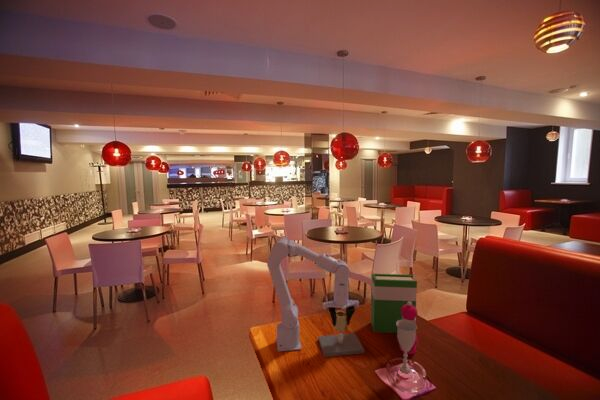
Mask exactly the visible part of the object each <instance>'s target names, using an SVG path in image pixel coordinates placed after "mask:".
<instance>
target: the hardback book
mask: <svg viewBox="0 0 600 400" xmlns="http://www.w3.org/2000/svg"><path fill="white" fill-rule="evenodd" d="M417 289H418V280H416V279H415V280H414V279H413V274H398V273H397V274H396V273H393V274H392V273H372V274H371V305H370V324H371V327H372V330H373V333H384V334H385V333H387V334H390V333H391V334H397V328H398V327H397V325H396V322H397V321H398V320H402V316H403V315H402V313H401V308H402V306H403V305H406V304H407V302H408V301H410V302H411V303H412V305H413V306H414V307H415V308H416V309H417V295H418V294H417Z"/></svg>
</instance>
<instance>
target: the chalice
mask: <svg viewBox="0 0 600 400" xmlns="http://www.w3.org/2000/svg"><path fill="white" fill-rule="evenodd" d="M396 325H397V327H398V328H397V333H396V339H397V341H398V344H400V346H401V349H402V350H403V351H404V352H403V354H402V357H403V359H402V362H403V364H402V363H401V364H400V365H399V366H400V367H399V366H398V368H400V371H401V372H402V373H405V374H408V373H410V370H411V368H410V367H409V366H408V365H407V363H408V356H409V354H407V352H408V351H410V349H411V348H412V346H413V344H414V342H415V334H416V335H417V331H416V330H418V325H417V324H416V322H415V323H414V322H412V321H410V320H405V319H403V320H398V321H397V322H396Z"/></svg>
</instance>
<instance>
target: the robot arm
mask: <svg viewBox="0 0 600 400" xmlns="http://www.w3.org/2000/svg"><path fill="white" fill-rule="evenodd" d="M288 256H289V257H294V256H300V257H302V258H304V259H307V260H310V261H311V262H314V263H315V265H316V267H318V268H320V269H322V270H324V271H326V272H328V273H330V274H334V280H333V300H330V301H326V302H322V308H323V310H327V309H328V312H329V314H330V317H331V323H332V325H333V327H334V326H335V325H336V320H335V319H336V309H337V308H338V309H340V310H345V312H346V313H347V315H348V326H349V325H350V322H351V319H352V316H353V315H354V313H355V312H356V309H355V307H356V308H358V307H360V301H359V300H356V299H355V300H354V299H349V283H350V282H349V277H350V275H351V272H350V269H349V265H348V264H347V262H345V260H343V259H339V258H338V259H337V258H334V257H332V256H330V254H329V253H320V254H319V253H318V252H315V251H314V250H311V249H309V248H308V247H306V246H303V245H302V244H300V243H298V242H296V241H295V240H292V239H289V238H288V237H284V236H283V237H279V238H278V239H277V240H276V241H275V242H274V244H273V245H272V248H271V250H270V251H269V255H268V259H267V263H266V265H267V268H268V271H269V274H270V277H271V281H272V284H273V287H274V290H275V293H276V296H277V298H278V302H279V305H280V314H281V322H280V323H278V324H276V338H275V343H276V346H277V347H276V348H277V349H276V350H277V352H287V351H298V350H299V351H300V350H302V345H301V340H300V321H299V320H298V318H299V311H300V310H299V307H298V306H297V305H296V303H295V301H294V299H293V298H292V297H291V296H292V295H291V293H290V290H289V287H288V284H287V280H286V277H285V274H284V272H283V268H282V265H281V263H282V262H283V260H285V258H287V257H288Z"/></svg>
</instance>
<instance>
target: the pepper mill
mask: <svg viewBox="0 0 600 400" xmlns="http://www.w3.org/2000/svg"><path fill="white" fill-rule="evenodd" d="M401 313H402V315H403V316H402V320H403V319H405V320H410V321H412V322H414V323H416V320H417V317H418V309H417V307H416V308H415V307H414V306H413V305H412V303H411V302H410V301H408V302H407V304H406V305H403V306H402V308H401ZM418 342H419V340H418V335H417V333H416V334H415V342H414V344H413V346H412V348H411V349H410V351H408V352H407V355H414V354H416V352H417V346H418ZM398 344H399V343H398ZM398 348H399V351H401V352H402V353H404V351H403V350H402V349H401V346H400V344H399V347H398Z"/></svg>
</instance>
